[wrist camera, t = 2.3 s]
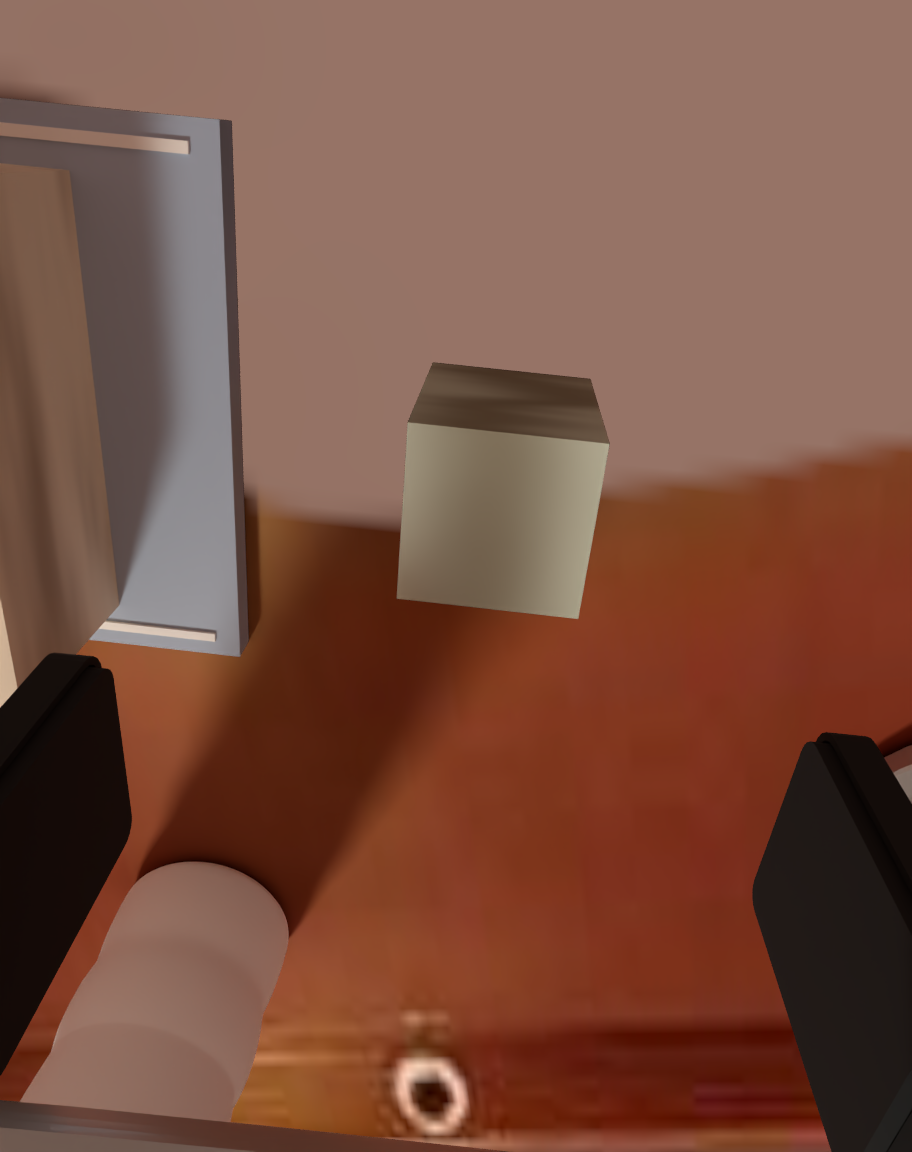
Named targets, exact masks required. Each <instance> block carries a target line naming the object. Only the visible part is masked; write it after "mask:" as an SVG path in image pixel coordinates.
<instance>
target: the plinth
mask: <svg viewBox="0 0 912 1152" xmlns="http://www.w3.org/2000/svg"><path fill="white" fill-rule="evenodd" d="M118 606H119V598H118V589H117V580H116V572H115V563H114V554H113V546H112V537H111V528H110V519H109V511H108V502H107V493H106V485H105V476H104V467H103V458H102V450H101V441H100V432H99V424H98V415H97V406H96V397H95V389H94V380H93V371H92V363H91V354H90V345H89V336H88V328H87V319H86V310H85V302H84V293H83V284H82V275H81V267H80V258H79V249H78V241H77V232H76V223H75V214H74V206H73V197H72V188H71V180H70V171H69V170H63V169H53V168H43V167H33V166H23V165H13V164H3V163H0V707H1V706H2V705H3V704H4V703H5V702H6V701H7V699H8V698H9V697H10V696H11V695H12V694H13V693H14V692H15V690H16V689H17V688H18V687H19V686H20V685H21V684H22V682H23V681H24V680H25V679H26V678H27V677H28V676H29V675H30V673H31V672H32V671H33V670H34V669H35V668H36V667H37V666H38V664H39V663H40V662H41V661H42V660H43V659H44V658H45V657H46V656H47V655H48V654H50V653H54V652H55V653H65V654H74V655H76V654H77V652H78V651H79V650H80V649H81V648H82V647H83V646H84V645H85V643H86V642H87V641H88V640H89V639H90V638H91V637H92V636H93V634H94V633H95V632H96V631H97V630H98V629H99V628H100V626H101V625H102V624H103V623H104V622H105V621H106V620H107V619H108V617H109V616H110V615H111V614H112V613H113V612H114V611H115V610H116V608H117V607H118Z"/></svg>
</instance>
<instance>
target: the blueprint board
mask: <svg viewBox="0 0 912 1152" xmlns="http://www.w3.org/2000/svg"><path fill="white" fill-rule="evenodd" d="M232 146H233V145H232V121H229V120H220V119H209V118H199V117H189V116H179V115H169V114H159V113H149V112H139V111H129V110H119V109H109V108H99V107H89V106H78V105H68V104H58V103H48V102H38V101H28V100H18V99H8V98H0V163H3V164H13V165H23V166H33V167H43V168H53V169H63V170H69V171H70V180H71V188H72V197H73V206H74V214H75V223H76V232H77V241H78V249H79V258H80V267H81V275H82V284H83V293H84V302H85V310H86V319H87V328H88V336H89V345H90V354H91V363H92V371H93V380H94V389H95V397H96V406H97V415H98V424H99V432H100V441H101V450H102V458H103V467H104V476H105V485H106V493H107V502H108V511H109V519H110V528H111V537H112V546H113V554H114V563H115V572H116V580H117V589H118V598H119V606H118V607H117V608H116V610H115V611H114V612H113V613H112V614H111V615H110V616H109V617H108V619H107V620H106V621H105V622H104V623H103V624H102V625H101V626H100V628H99V629H98V630H97V631H96V632H95V633H94V634H93V636H92V637H91V638H90V639H89V640H97V641H106V642H115V643H124V644H133V645H141V646H150V647H159V648H168V649H176V650H185V651H194V652H203V653H212V654H220V655H229V656H238V657H240V656H241V654H242V652H243V651H244V649H245V647H246V645H247V643H248V642H249V635H248V605H247V574H246V543H245V513H244V482H243V451H242V421H241V390H240V359H239V329H238V298H237V269H236V237H235V209H234V208H235V207H234V175H233V147H232Z"/></svg>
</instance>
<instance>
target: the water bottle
mask: <svg viewBox="0 0 912 1152" xmlns="http://www.w3.org/2000/svg"><path fill="white" fill-rule="evenodd" d="M288 938H289V931H288V924H287V920H286V917H285V915H284V913H283V910H282V909H281V907H280V905H279V904H278V902H277V901H276V899H275V898H274V897H273V896H272V895H271V894H270V893H269V892H268V891H267V890H266V889H265V888H264V887H263V886H262V885H261V884H259V883H258V882H257V881H255V880H254V879H252V878H251V877H249V876H247V875H245V874H244V873H242V872H239V871H237V870H235V869H232V868H229V867H226V866H223V865H219V864H214V863H208V862H180V863H174V864H169V865H166V866H162V867H160V868H157V869H155V870H153V871H151V872H149V873H147V874H146V875H144V876H143V877H142V878H140V879H139V880H138V881H137V882H136V883H135V884H134V886H133V887H132V888H131V889H130V891H129V892H128V894H127V896H126V897H125V899H124V901H123V903H122V904H121V906H120V908H119V910H118V912H117V914H116V916H115V918H114V920H113V922H112V924H111V926H110V929H109V931H108V933H107V936H106V938H105V940H104V943H103V946H102V949H101V952H100V955H99V957H98V960H97V962H96V963H95V964H94V966H93V967H92V968H91V970H90V971H89V972H88V974H87V975H86V977H85V978H84V980H83V981H82V983H81V984H80V986H79V988H78V989H77V991H76V993H75V995H74V996H73V998H72V1000H71V1002H70V1004H69V1006H68V1008H67V1010H66V1012H65V1014H64V1016H63V1018H62V1021H61V1023H60V1025H59V1028H58V1031H57V1034H56V1037H55V1040H54V1043H53V1047H52V1051H51V1053H50V1055H49V1056H48V1058H47V1059H46V1061H45V1062H44V1064H43V1065H42V1067H41V1068H40V1070H39V1071H38V1073H37V1075H36V1076H35V1078H34V1079H33V1081H32V1083H31V1084H30V1086H29V1087H28V1089H27V1091H26V1092H25V1094H24V1096H23V1097H22V1099H21V1101H20V1102H26V1103H38V1104H50V1105H62V1106H75V1107H85V1108H94V1109H104V1110H114V1111H124V1112H134V1113H144V1114H153V1115H163V1116H173V1117H183V1118H193V1119H203V1120H213V1121H222V1122H230V1121H231V1116H232V1110H233V1108H234V1106H235V1104H236V1102H237V1101H238V1099H239V1097H240V1095H241V1093H242V1091H243V1088H244V1086H245V1084H246V1081H247V1079H248V1076H249V1073H250V1070H251V1067H252V1064H253V1061H254V1058H255V1054H256V1050H257V1046H258V1042H259V1037H260V1031H261V1024H262V1017H263V1013H264V1011H265V1009H266V1007H267V1005H268V1003H269V1000H270V998H271V996H272V993H273V991H274V988H275V986H276V983H277V980H278V977H279V974H280V971H281V968H282V965H283V962H284V958H285V955H286V951H287V946H288Z"/></svg>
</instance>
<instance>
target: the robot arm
mask: <svg viewBox="0 0 912 1152" xmlns="http://www.w3.org/2000/svg"><path fill="white" fill-rule="evenodd" d="M131 822H132V814H131V806H130V799H129V791H128V784H127V776H126V769H125V761H124V753H123V746H122V738H121V731H120V723H119V716H118V708H117V701H116V693H115V685H114V678H113V674H112V672H111V671H110V670H109V669H105V668H102V667H101V663H100V662H99V660H98V658H96V657H94V656H84V655H74V654H65V653H55V652H54V653H50V654H48V655H47V656H46V657H45V658H44V659H43V660H42V661H41V662H40V663H39V664H38V666H37V667H36V668H35V669H34V670H33V671H32V672H31V673H30V675H29V676H28V677H27V678H26V679H25V680H24V681H23V682H22V684H21V685H20V686H19V687H18V688H17V689H16V690H15V692H14V693H13V694H12V695H11V696H10V697H9V698H8V699H7V701H6V702H5V703H4V704H3V705H2V706H1V707H0V1075H1V1074H2V1072H3V1071H4V1069H5V1068H6V1066H7V1064H8V1062H9V1060H10V1058H11V1057H12V1055H13V1053H14V1051H15V1049H16V1047H17V1045H18V1044H19V1042H20V1040H21V1038H22V1036H23V1034H24V1032H25V1031H26V1029H27V1027H28V1025H29V1023H30V1021H31V1019H32V1017H33V1016H34V1014H35V1012H36V1010H37V1008H38V1006H39V1004H40V1003H41V1001H42V999H43V997H44V995H45V993H46V991H47V990H48V988H49V986H50V984H51V982H52V980H53V978H54V977H55V975H56V973H57V971H58V969H59V967H60V965H61V964H62V962H63V960H64V958H65V956H66V954H67V952H68V951H69V949H70V947H71V945H72V943H73V941H74V939H75V938H76V936H77V934H78V932H79V930H80V928H81V926H82V924H83V923H84V921H85V919H86V917H87V915H88V913H89V911H90V910H91V908H92V906H93V904H94V902H95V900H96V898H97V897H98V895H99V893H100V891H101V889H102V887H103V885H104V884H105V882H106V880H107V878H108V876H109V874H110V872H111V871H112V869H113V867H114V865H115V863H116V861H117V859H118V858H119V856H120V854H121V852H122V850H123V848H124V846H125V844H126V842H127V840H128V837H129V834H130V829H131ZM753 906H754V910H755V913H756V917H757V920H758V923H759V926H760V929H761V932H762V935H763V938H764V942H765V945H766V948H767V951H768V954H769V957H770V960H771V964H772V967H773V970H774V973H775V976H776V979H777V982H778V985H779V989H780V992H781V995H782V998H783V1001H784V1004H785V1007H786V1010H787V1014H788V1017H789V1020H790V1023H791V1026H792V1029H793V1032H794V1035H795V1039H796V1042H797V1045H798V1048H799V1051H800V1054H801V1057H802V1060H803V1064H804V1067H805V1070H806V1073H807V1076H808V1079H809V1082H810V1085H811V1089H812V1092H813V1095H814V1098H815V1101H816V1104H817V1107H818V1111H819V1114H820V1117H821V1120H822V1123H823V1126H824V1129H825V1132H826V1136H827V1139H828V1142H829V1145H830V1148H831V1151H832V1152H912V745H910V746H907V747H905V748H903V749H901V750H899V751H897V752H895V753H893V754H890V755H888V756H886V757H883V755H882V754H881V752H880V750H879V749H878V747H877V745H876V744H875V743H874V741H873V740H872V739H871V738H869V737H866V736H857V735H847V734H838V733H828V732H826V733H822V734H821V735H820V736H819V737H818V739H817V741H816V742H807V743H806V744H805V745H804V747H803V749H802V751H801V754H800V757H799V759H798V762H797V765H796V768H795V770H794V773H793V776H792V778H791V781H790V784H789V787H788V789H787V792H786V795H785V798H784V800H783V803H782V806H781V809H780V811H779V814H778V817H777V820H776V822H775V825H774V828H773V831H772V833H771V836H770V839H769V841H768V844H767V847H766V850H765V852H764V855H763V858H762V861H761V863H760V866H759V869H758V872H757V874H756V877H755V880H754V884H753ZM0 1152H506V1151H497V1150H488V1149H479V1148H469V1147H460V1146H451V1145H442V1144H432V1143H423V1142H414V1141H404V1140H395V1139H385V1138H376V1137H367V1136H357V1135H348V1134H338V1133H329V1132H320V1131H310V1130H301V1129H291V1128H282V1127H272V1126H262V1125H252V1124H242V1123H232V1122H222V1121H213V1120H203V1119H193V1118H183V1117H173V1116H163V1115H153V1114H144V1113H134V1112H124V1111H114V1110H104V1109H94V1108H85V1107H75V1106H62V1105H50V1104H38V1103H26V1102H14V1101H2V1100H0Z"/></svg>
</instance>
